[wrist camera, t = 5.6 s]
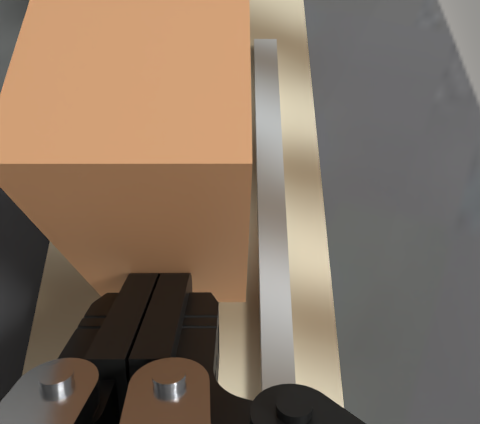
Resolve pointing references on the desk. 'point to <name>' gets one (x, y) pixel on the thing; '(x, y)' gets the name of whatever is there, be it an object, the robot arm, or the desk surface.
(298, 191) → the plate
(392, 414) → the desk surface
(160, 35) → the tan wooden block
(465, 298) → the desk surface
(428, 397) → the desk surface
